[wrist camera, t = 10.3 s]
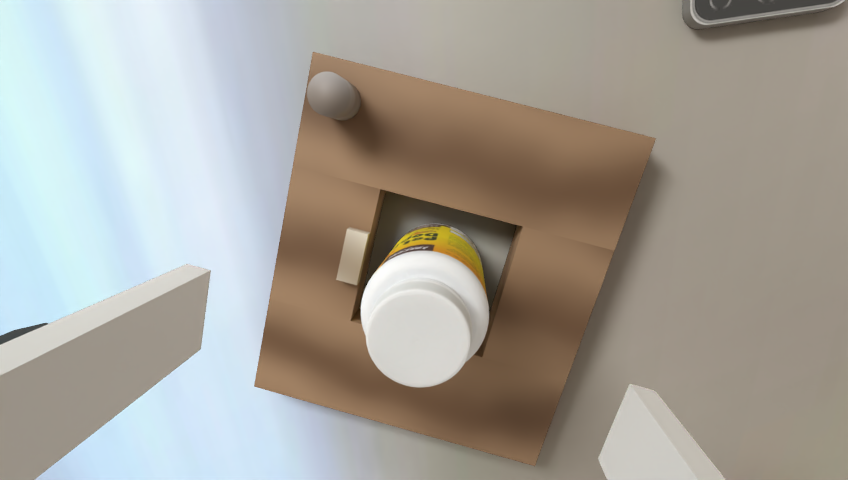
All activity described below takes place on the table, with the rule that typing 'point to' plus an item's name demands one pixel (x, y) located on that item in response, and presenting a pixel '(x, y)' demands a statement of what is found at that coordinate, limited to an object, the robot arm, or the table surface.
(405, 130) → the wooden slotted board
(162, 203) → the table surface
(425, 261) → the supplement bottle
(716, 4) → the smartphone
